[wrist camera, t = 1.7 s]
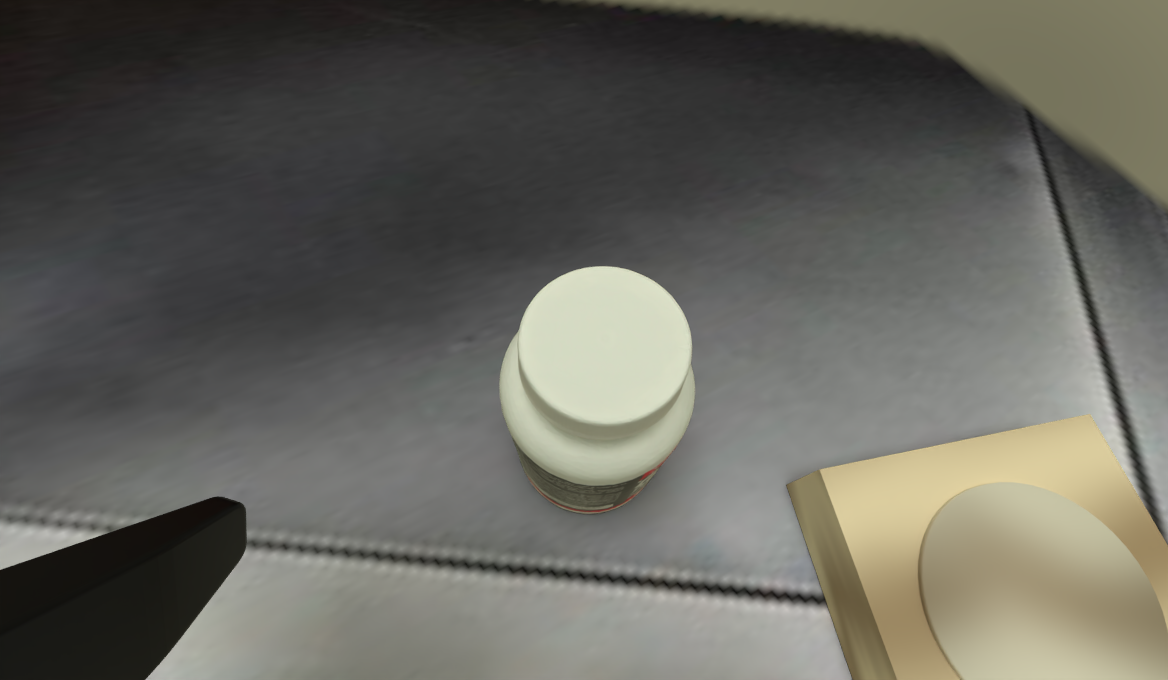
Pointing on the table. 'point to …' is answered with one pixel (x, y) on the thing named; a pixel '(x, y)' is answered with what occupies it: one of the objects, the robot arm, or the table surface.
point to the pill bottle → (597, 387)
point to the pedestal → (991, 560)
